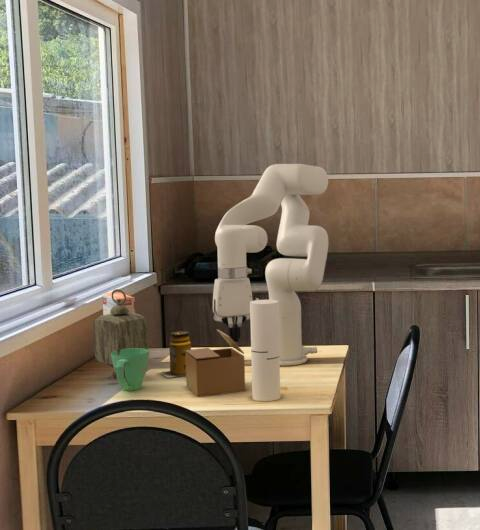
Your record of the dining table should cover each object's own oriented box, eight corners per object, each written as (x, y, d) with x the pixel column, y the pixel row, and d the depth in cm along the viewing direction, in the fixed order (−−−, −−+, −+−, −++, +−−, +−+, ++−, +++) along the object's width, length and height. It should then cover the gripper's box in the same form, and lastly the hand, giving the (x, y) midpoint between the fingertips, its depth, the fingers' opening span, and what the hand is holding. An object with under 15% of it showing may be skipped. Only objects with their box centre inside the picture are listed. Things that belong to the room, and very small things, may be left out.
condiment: (196, 374, 255) (195, 333, 253) (167, 378, 250) (166, 336, 249) (187, 369, 261) (186, 329, 259) (159, 373, 256) (157, 332, 255)
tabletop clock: (149, 376, 252) (145, 289, 249) (121, 383, 245) (117, 293, 242) (120, 369, 261) (117, 285, 258) (93, 375, 254) (88, 289, 251)
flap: (231, 346, 245) (231, 345, 245) (243, 354, 235) (244, 353, 235) (216, 329, 243) (217, 329, 243) (228, 337, 232) (229, 336, 232)
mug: (118, 384, 244) (117, 348, 243) (154, 383, 244) (153, 347, 243) (101, 398, 229) (100, 360, 228) (140, 397, 229) (138, 359, 228)
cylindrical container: (253, 394, 232) (251, 299, 229) (281, 393, 232) (278, 299, 230) (251, 401, 225) (248, 304, 222) (279, 400, 225) (277, 303, 222)
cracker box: (138, 365, 266) (135, 296, 264) (117, 368, 263) (115, 298, 260) (123, 357, 278) (121, 291, 275) (104, 359, 274) (101, 293, 272)
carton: (232, 381, 246) (231, 345, 245) (245, 390, 236) (244, 353, 235) (186, 386, 240) (185, 350, 239) (197, 396, 230) (196, 358, 229)
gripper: (254, 270, 244) (256, 336, 246) (201, 273, 237) (203, 341, 239) (263, 273, 237) (265, 341, 239) (208, 276, 230) (210, 346, 232)
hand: (234, 341), depth 239 cm, fingers closed
